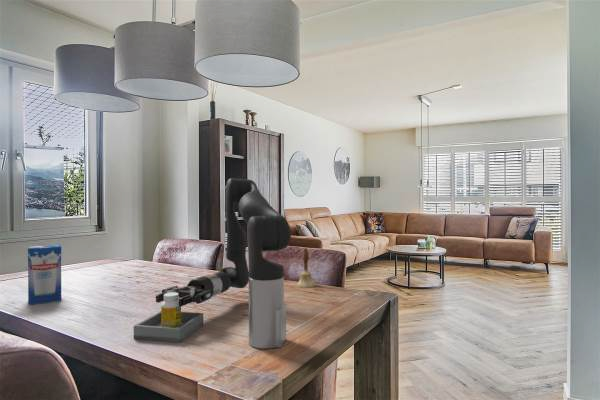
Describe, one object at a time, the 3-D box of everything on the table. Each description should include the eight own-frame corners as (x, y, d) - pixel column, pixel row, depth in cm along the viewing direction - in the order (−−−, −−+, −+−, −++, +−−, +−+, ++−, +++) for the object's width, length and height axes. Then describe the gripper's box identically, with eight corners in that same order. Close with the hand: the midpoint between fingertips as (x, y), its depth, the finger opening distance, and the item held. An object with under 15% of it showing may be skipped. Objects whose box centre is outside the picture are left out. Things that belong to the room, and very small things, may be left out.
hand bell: (294, 287, 155) (294, 249, 155) (298, 282, 163) (298, 247, 163) (314, 288, 153) (314, 250, 153) (316, 283, 161) (316, 247, 161)
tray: (203, 324, 109) (203, 313, 109) (179, 342, 96) (179, 329, 96) (162, 321, 112) (162, 310, 112) (133, 338, 98) (133, 325, 98)
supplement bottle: (165, 324, 106) (164, 291, 106) (183, 324, 107) (183, 291, 106) (158, 331, 101) (158, 296, 101) (178, 331, 101) (177, 296, 101)
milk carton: (27, 305, 129) (27, 248, 129) (29, 301, 134) (28, 246, 134) (61, 300, 135) (61, 246, 135) (61, 296, 140) (61, 244, 140)
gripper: (187, 274, 121) (149, 285, 106) (223, 278, 115) (187, 290, 100) (187, 296, 121) (149, 310, 106) (223, 301, 115) (187, 317, 100)
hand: (168, 300), depth 103 cm, fingers open, 8 cm apart
